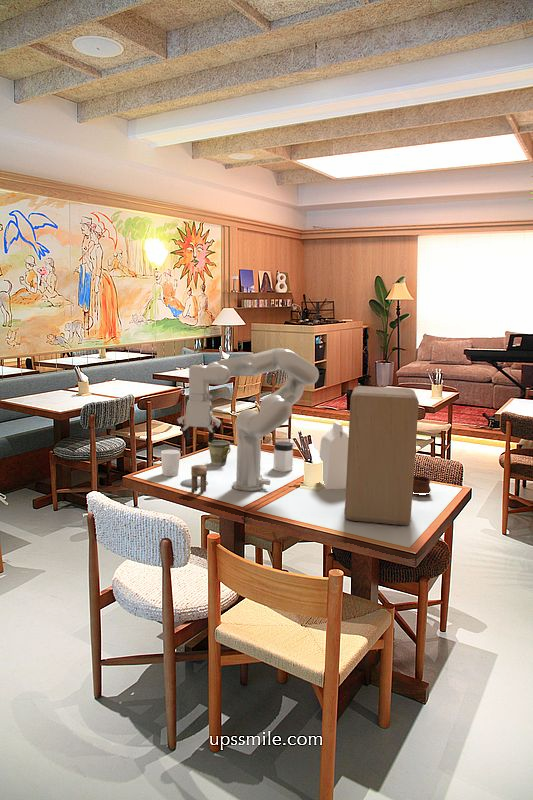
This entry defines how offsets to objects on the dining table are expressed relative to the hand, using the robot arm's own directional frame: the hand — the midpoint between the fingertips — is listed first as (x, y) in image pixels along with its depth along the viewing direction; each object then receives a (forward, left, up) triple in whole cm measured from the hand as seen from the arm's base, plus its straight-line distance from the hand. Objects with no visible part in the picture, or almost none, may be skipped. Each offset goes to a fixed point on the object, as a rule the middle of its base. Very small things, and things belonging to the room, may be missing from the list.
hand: (198, 441), depth 239 cm
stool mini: (0, 0, -20) cm, 20 cm away
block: (-69, +7, -21) cm, 73 cm away
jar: (-26, -43, -21) cm, 54 cm away
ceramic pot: (-85, -22, -21) cm, 91 cm away
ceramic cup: (+3, -43, -21) cm, 47 cm away
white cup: (+19, -20, -21) cm, 34 cm away
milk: (-51, -26, -21) cm, 61 cm away
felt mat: (+5, -10, -20) cm, 23 cm away
